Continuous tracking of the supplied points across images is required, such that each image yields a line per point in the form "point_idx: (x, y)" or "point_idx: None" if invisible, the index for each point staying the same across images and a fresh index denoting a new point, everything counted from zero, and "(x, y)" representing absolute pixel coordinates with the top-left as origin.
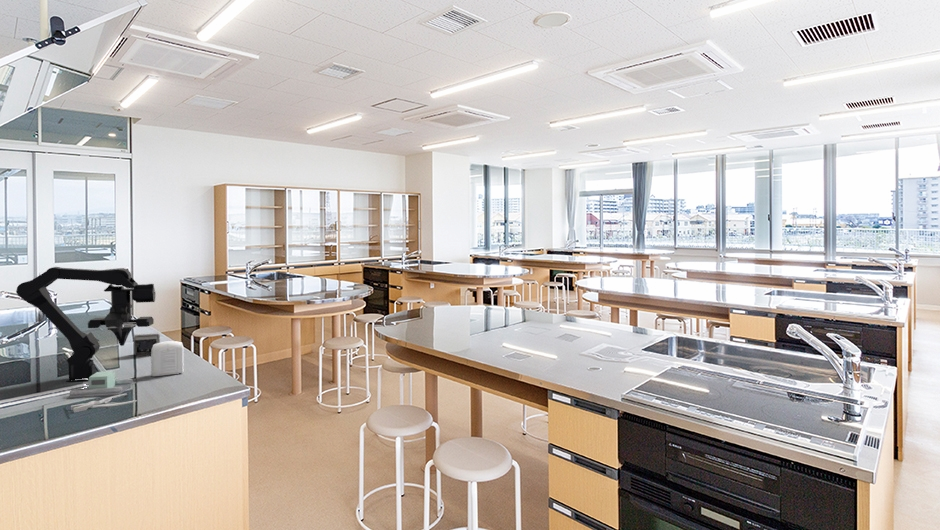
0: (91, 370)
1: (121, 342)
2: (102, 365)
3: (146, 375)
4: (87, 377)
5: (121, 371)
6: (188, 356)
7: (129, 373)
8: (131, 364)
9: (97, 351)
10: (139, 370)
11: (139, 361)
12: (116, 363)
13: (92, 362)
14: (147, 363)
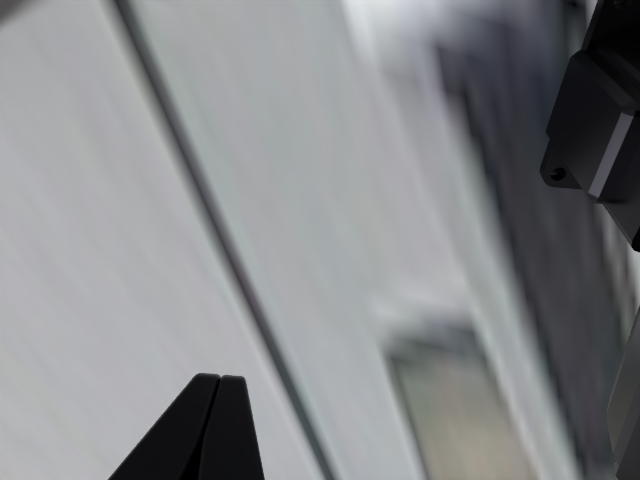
0: (607, 79)
1: (199, 426)
2: (518, 421)
3: (28, 38)
4: (620, 40)
5: (338, 246)
6: (5, 466)
7: (243, 164)
8: (320, 398)
9: (616, 376)
10: (190, 236)
11: (288, 444)
12: (431, 439)
13: (629, 204)
14: None
